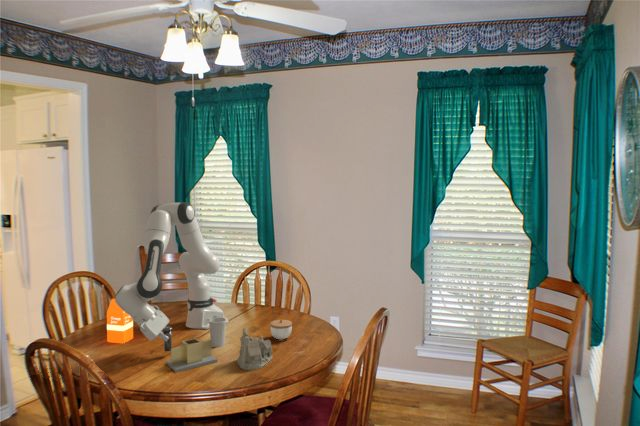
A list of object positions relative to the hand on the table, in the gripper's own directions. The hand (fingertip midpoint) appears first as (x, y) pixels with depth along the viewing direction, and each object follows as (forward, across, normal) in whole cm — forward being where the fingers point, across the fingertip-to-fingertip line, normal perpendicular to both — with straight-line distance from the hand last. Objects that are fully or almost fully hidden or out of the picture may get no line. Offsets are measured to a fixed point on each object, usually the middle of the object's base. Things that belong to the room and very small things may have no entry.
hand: (169, 338), depth 200 cm
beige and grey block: (+13, -8, -3) cm, 15 cm away
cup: (+19, +13, -7) cm, 25 cm away
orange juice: (-14, +20, +26) cm, 36 cm away
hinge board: (+14, -8, -2) cm, 16 cm away
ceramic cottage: (+33, -7, -21) cm, 40 cm away
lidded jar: (+40, +22, -28) cm, 54 cm away
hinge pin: (+3, 0, +4) cm, 5 cm away
